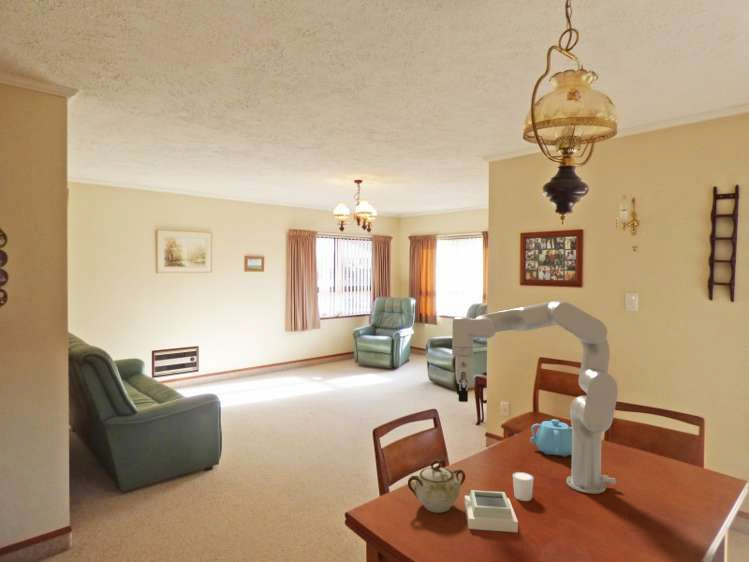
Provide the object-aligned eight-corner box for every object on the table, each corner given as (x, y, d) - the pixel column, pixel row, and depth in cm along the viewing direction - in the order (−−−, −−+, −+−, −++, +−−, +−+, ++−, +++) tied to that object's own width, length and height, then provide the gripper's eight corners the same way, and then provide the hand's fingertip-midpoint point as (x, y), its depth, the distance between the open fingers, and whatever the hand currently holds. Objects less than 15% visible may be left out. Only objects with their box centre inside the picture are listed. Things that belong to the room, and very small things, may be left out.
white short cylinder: (530, 492, 154) (531, 472, 154) (535, 502, 147) (536, 481, 147) (510, 491, 155) (510, 471, 155) (514, 501, 148) (514, 480, 148)
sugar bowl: (415, 522, 135) (415, 472, 135) (400, 498, 149) (401, 453, 149) (475, 514, 139) (475, 466, 139) (455, 491, 154) (455, 448, 154)
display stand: (508, 507, 144) (509, 489, 144) (517, 532, 130) (518, 512, 130) (464, 504, 145) (464, 487, 145) (468, 528, 131) (468, 509, 131)
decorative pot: (556, 443, 201) (556, 412, 201) (584, 456, 186) (585, 423, 185) (526, 447, 195) (526, 416, 195) (553, 461, 180) (553, 428, 180)
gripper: (475, 355, 154) (474, 405, 154) (470, 347, 171) (470, 392, 171) (453, 354, 155) (452, 404, 155) (451, 347, 172) (450, 391, 172)
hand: (462, 397), depth 163 cm, fingers open, 9 cm apart
